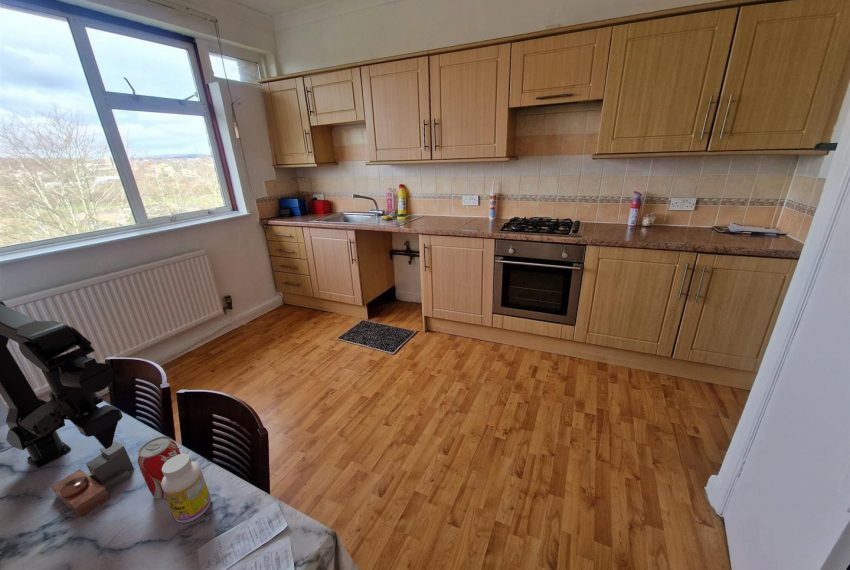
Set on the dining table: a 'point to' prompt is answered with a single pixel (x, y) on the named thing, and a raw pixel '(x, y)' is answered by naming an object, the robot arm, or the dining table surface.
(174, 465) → the supplement bottle
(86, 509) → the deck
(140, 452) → the soda can
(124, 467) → the grey stepped block
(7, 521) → the dining table surface
